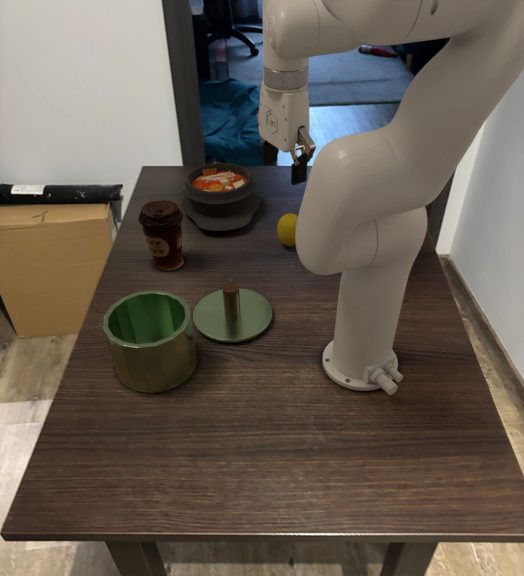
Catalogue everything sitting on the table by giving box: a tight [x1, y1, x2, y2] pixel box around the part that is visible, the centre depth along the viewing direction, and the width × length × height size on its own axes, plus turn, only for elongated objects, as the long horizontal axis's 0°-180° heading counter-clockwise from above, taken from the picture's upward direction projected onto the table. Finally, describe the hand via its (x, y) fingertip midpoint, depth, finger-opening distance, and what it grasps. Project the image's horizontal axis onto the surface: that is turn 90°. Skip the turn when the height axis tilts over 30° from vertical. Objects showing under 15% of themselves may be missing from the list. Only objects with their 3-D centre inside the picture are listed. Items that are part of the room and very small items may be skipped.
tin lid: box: [192, 281, 273, 343], centre depth 96 cm, size 15×15×7 cm
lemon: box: [276, 212, 298, 248], centre depth 112 cm, size 6×6×8 cm
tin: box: [102, 289, 198, 394], centre depth 87 cm, size 14×14×10 cm
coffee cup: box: [138, 199, 184, 271], centre depth 107 cm, size 9×8×13 cm
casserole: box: [181, 162, 260, 232], centre depth 124 cm, size 25×19×8 cm
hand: (283, 172), depth 100 cm, fingers open, 9 cm apart
